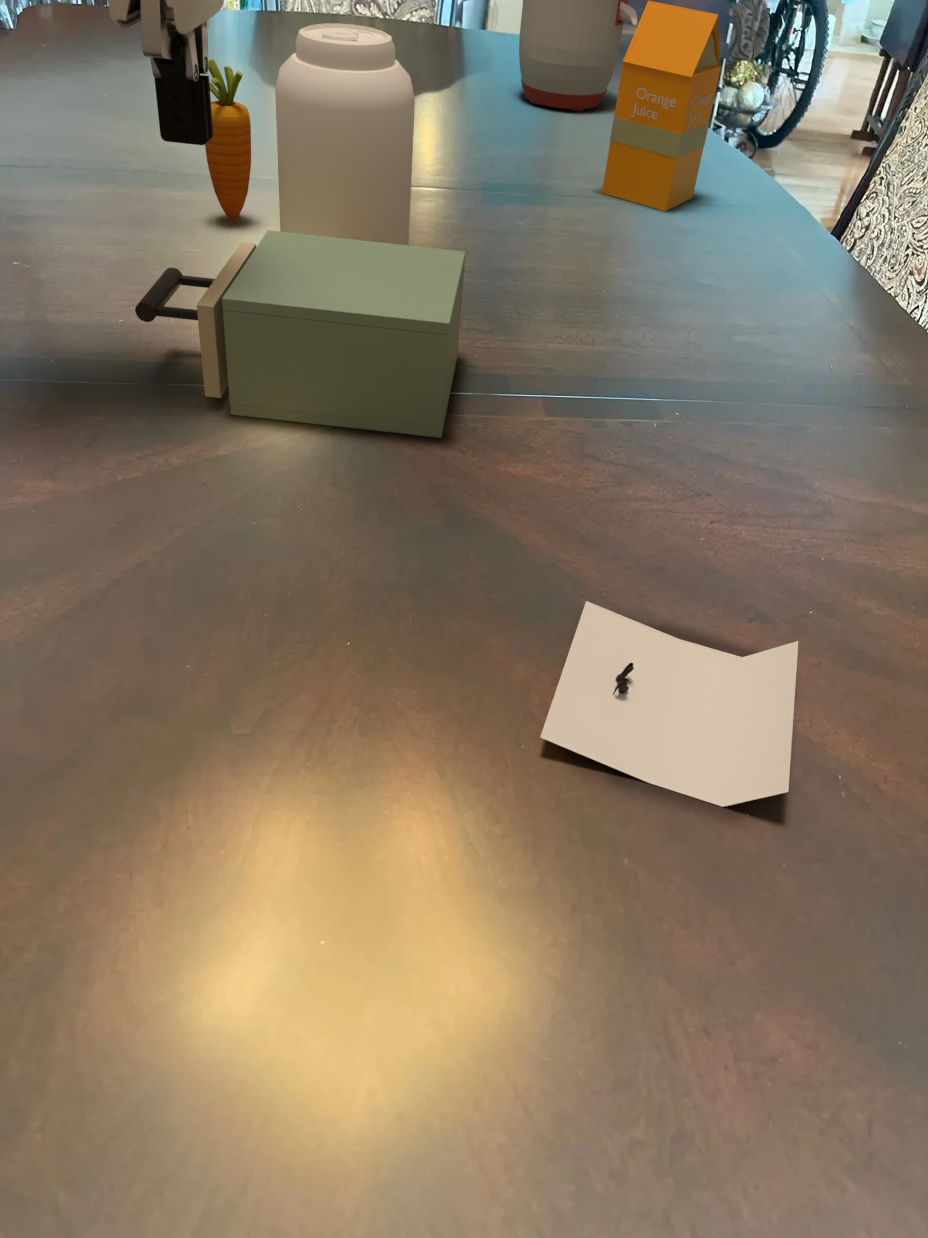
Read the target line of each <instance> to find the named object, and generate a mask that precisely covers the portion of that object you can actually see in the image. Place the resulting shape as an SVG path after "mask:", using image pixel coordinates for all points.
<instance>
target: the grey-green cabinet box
mask: <svg viewBox="0 0 928 1238" xmlns="http://www.w3.org/2000/svg"><path fill="white" fill-rule="evenodd" d="M465 265H466V251H463V250H454V249H444V248H435V247H427V246H417V245H410V244H409V245H400V244H390V243H381V242H372V241H363V240H353V239H344V238H335V237H326V236H316V235H307V234H298V233H289V232H280V230H269V229H268V230H266V232H265V233H264V235H263V236H262V238H261V240H260V241H259V242H258V244H257V245H256V249H255V250H254V252H253V253H252V255H251V256H250V258H249V259H248V260H247V262H246V263H245V265H244V266H243V268H242V269H241V271H240V272H239V274H238V275H237V277H236V278H235V280H234V281H233V283H232V284H231V286H230V287H229V289H228V290H227V292H226V293H225V295H224V296H223V298H222V306H223V321H224V334H225V347H226V360H227V373H228V386H227V387H228V394H229V395H228V397H229V398H228V399H229V409H230V415H231V416H240V417H250V418H258V419H265V420H266V419H267V420H275V421H276V420H277V421H285V422H295V423H302V424H303V423H304V424H313V425H320V426H330V427H331V426H332V427H340V428H347V429H348V428H349V429H358V430H367V431H375V432H383V433H394V434H403V435H411V436H421V437H429V438H439V439H441V438H442V436H443V431H444V426H445V422H446V416H447V410H448V407H449V406H448V405H449V400H450V396H451V392H452V385H453V380H454V375H455V370H456V366H457V360H458V353H459V341H460V340H459V339H460V328H461V317H462V316H461V315H462V303H463V290H464V278H465V267H466V266H465Z"/></svg>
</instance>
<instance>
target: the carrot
mask: <svg viewBox="0 0 928 1238" xmlns="http://www.w3.org/2000/svg"><path fill="white" fill-rule="evenodd" d="M208 61H209V68H208V72H209V73H210V75H211V77H212V78H211V79H210V82H209V85H210V93H211V94H213V96H214V97H215V98H216V100H214V101H211V111H212V125H213V137H212V138H211V139H210V140H209V141H208V142H207V143H206V144H205V145H204V148H205V154H206V155H205V157H206V163H207V167H208V171H209V176H210V180H211V184H212V188H213V191H214V193H215V194H214V195H215V196H216V198H217V201H218V203H219V206H220V207H221V209H222V211H223V213H224V214H225V216H226V218H227V219H228V220H229V221H230V222H232V223H234V222H236V221H237V220H238V219H239V217H240V215H241V214H242V213H241V212H242V210H243V209H244V206H245V202H246V200H247V195H248V193H249V185H250V179H251V167H252V130H251V129H252V128H251V124H252V123H251V117H250V111H249V109H248V108H247V106H245V105H244V104H243V103H240V102H236V101H235V96H236V93H237V90H238V87H239V86H240V85H239V84H240V82H241V81H242V78H243V76H244V75H243V73H242V72H241V71H239V70H237V71H236V72H235V73H234V72H233V69H232V67H229V66H224V67H223V70H224V71H223V72H224V76H225V79H224V78H223V76H222V73H221V70H220V69H219V66H218V65H217V62H216V61H215V59H208ZM225 80H226V82H225ZM225 83H226V84H225Z"/></svg>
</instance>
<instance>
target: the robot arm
mask: <svg viewBox="0 0 928 1238" xmlns="http://www.w3.org/2000/svg"><path fill="white" fill-rule="evenodd" d="M224 3H225V0H107V6H108V14H109V17H110V19H111V20H112V22H113V23H114V25H116V26H117V28H121V29H127V28H130V27H131V26H134V25H135V24H138V23H139V22H140V32H141V51H142V54H143V56H144V57H148V58H149V59H150V67H151V73H152V75H153V78H154V87H155V96H156V97H155V98H156V106H157V115H158V125H159V135H160V137H161V140H163V141H164V142H167V143H176V144H177V143H178V144H185V145H186V144H187V145H195V146H205V144H206V143H207V142H208V141H209V140H210V139H211V138H212V137H213V125H212V111H211V102H212V100H211V91H210V85H209V83H210V75H208V74H209V69H208V68H209V61H208V60H209V38H208V31H209V29H210V28H209V27H210V19H211V18H213V17H214V16H216V14H218V13H219V12H220V11H221V10H222V8H223V6H224Z"/></svg>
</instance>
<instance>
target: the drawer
mask: <svg viewBox="0 0 928 1238" xmlns="http://www.w3.org/2000/svg"><path fill="white" fill-rule="evenodd" d="M256 247H257V243H254V242H245V241H241V242H240V243H239V244H238V246H237V247H236V249H235V251H234V252H233V253H232V254H231V256H230V257H229V258H228V260H227V261H226V263H225V264H224V266H223V267H222V268H221V270H220V271H219V273H218V274H217V276H216V277H215V278H210V277H201V276H193V275H183V274H182V273H183V272H181V271H180V269H178V268H177V267H172V266H171V267H167V268H166V269H165V270H164V271H163V273H161V275H160V277H159V278H158V279H157V280H156V281H155V282H154V284H153V285H152V286H151V287H150V289H149V290H148V291H147V292H146V293H145V294H144V296H143V297H142V298H141V299H140V301H139V302H138V303H137V304H136V306H135V309H134V311H135V315H136V316H137V318H138V319H139V320H140V321H142V322H145V323H151V322H152V321H154V320H155V319H156V317H162V318H171V319H182V320H189V321H190V320H191V321H197V323H198V325H197V326H198V333H199V342H200V343H199V345H200V355H201V366H202V367H201V368H202V377H203V388H204V396H205V397H208V398H216V399H217V398H218V399H221V398H222V397H223V395H224V393H225V391H226V390H227V388H228V387H229V386H228V373H227V360H226V347H225V334H224V321H223V306H222V298H223V296H224V295H225V293H226V292H227V290H228V289H229V287H230V286H231V284H232V283H233V281H234V280H235V278H236V277H237V275H238V274H239V272H240V271H241V269H242V268H243V266H244V265H245V263H246V262H247V260H248V259H249V258H250V256H251V255H252V253H253V252H254V250H255V249H256ZM181 286H185V287H186V286H187V287H197V288H206V291H205V293H204V294H203V295H202V297H201V298H200V299H199V301H198V302H197V304H196V309H192V308H183V307H174V306H166V305H167V303H168V302H169V301H170V300H171V298H172V297H173V296H174V294H175V293H176V292H177V291H178V289H179V288H180V287H181Z"/></svg>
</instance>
